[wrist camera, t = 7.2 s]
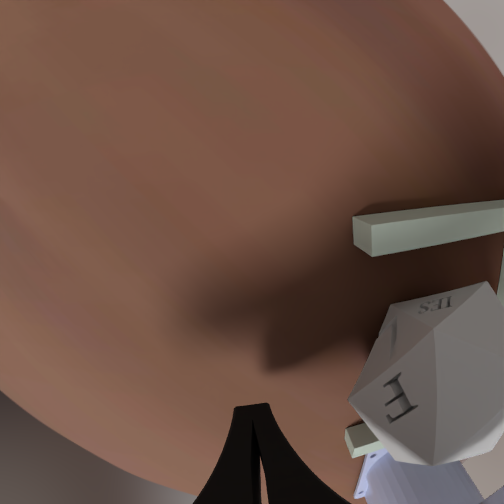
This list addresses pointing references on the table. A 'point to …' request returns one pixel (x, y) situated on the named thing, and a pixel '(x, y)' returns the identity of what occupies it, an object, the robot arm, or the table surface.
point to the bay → (413, 237)
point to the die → (436, 377)
